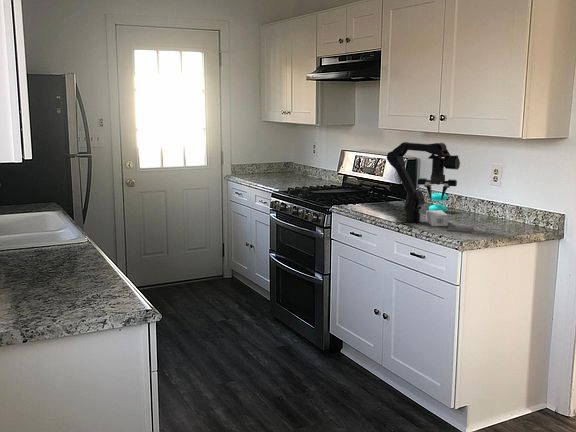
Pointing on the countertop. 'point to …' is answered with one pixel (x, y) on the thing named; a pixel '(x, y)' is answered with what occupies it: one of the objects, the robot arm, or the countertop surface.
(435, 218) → the skincare box
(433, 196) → the donuts
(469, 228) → the mat
